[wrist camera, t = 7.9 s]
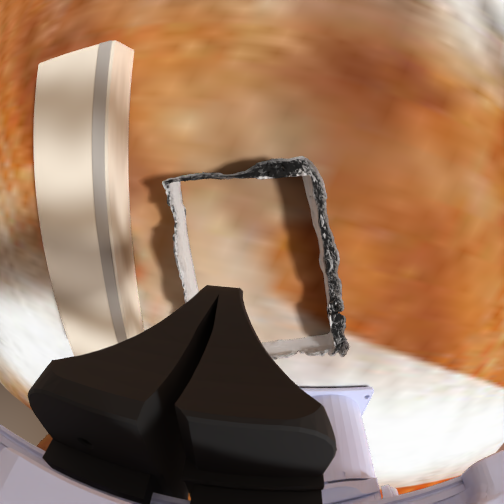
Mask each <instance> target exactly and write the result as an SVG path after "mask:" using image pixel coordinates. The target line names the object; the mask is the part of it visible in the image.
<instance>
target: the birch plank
mask: <svg viewBox="0 0 504 504" xmlns="http://www.w3.org/2000/svg"><path fill="white" fill-rule="evenodd" d="M133 57H134V50H133V49H131V48H129V47H127V46H125V45H123V44H122V43H120V42H118V41H116V40H115V41H108V42H104V43H100V44H98V45H94V46H91V47H87V48H84V49H80V50H77V51H74V52H71V53H68V54H65V55H62V56H59V57H56V58H53V59H50V60H48V61H45V62H42V63H40V64H39V67H38V74H37V83H36V94H35V107H34V172H35V187H36V197H37V207H38V215H39V222H40V229H41V235H42V241H43V247H44V252H45V257H46V262H47V266H48V271H49V275H50V279H51V284H52V288H53V291H54V295H55V299H56V302H57V306H58V309H59V313H60V316H61V319H62V322H63V325H64V329H65V332H66V335H67V337H68V340H69V343H70V346H71V349H72V351H73V354H74V356H79V355H83V354H87V353H91V352H94V351H98V350H101V349H104V348H107V347H110V346H113V345H115V344H118V343H120V342H122V341H125V340H127V339H129V338H131V337H134V336H136V335H138V334H140V333H142V332H144V327H143V321H142V315H141V309H140V302H139V295H138V288H137V281H136V273H135V264H134V255H133V245H132V234H131V220H130V204H129V178H128V130H129V105H130V89H131V77H132V66H133Z"/></svg>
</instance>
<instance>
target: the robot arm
mask: <svg viewBox="0 0 504 504" xmlns="http://www.w3.org/2000/svg"><path fill="white" fill-rule="evenodd" d="M373 393H374V390H373V388H372V387H355V388H299V387H298V386H297V385H296V384H295V383H294V382H293V381H292V380H291V379H290V378H289V377H288V376H287V375H286V374H285V373H284V372H283V371H282V370H281V368H280V367H279V366H278V365H277V364H276V363H275V362H274V360H273V359H272V358H271V356H270V355H269V354H268V352H267V351H266V349H265V348H264V346H263V345H262V343H261V342H260V340H259V338H258V336H257V335H256V333H255V331H254V329H253V327H252V325H251V322H250V320H249V317H248V315H247V312H246V309H245V306H244V302H243V291H242V290H241V289H240V288H231V287H220V286H209V285H207V286H205V287H204V288H203V289H202V290H200V291H199V292H198V293H197V294H196V295H195V296H194V297H192V298H191V299H190V300H189V301H188V302H186V303H185V304H184V305H183V306H181V307H180V308H179V309H178V310H176V311H175V312H174V313H172V314H171V315H169V316H168V317H167V318H165V319H164V320H162V321H161V322H159V323H158V324H156V325H154V326H153V327H151V328H149V329H147V330H146V331H144V332H142V333H140V334H138V335H136V336H134V337H131V338H129V339H127V340H125V341H122V342H120V343H118V344H115V345H113V346H110V347H107V348H104V349H101V350H98V351H94V352H91V353H87V354H83V355H79V356H74V357H69V358H64V359H58V360H52V361H51V363H50V364H49V365H48V366H47V368H46V369H45V370H44V371H43V373H42V374H41V375H40V377H39V378H38V379H37V381H36V382H35V383H34V385H33V386H32V387H31V389H30V390H29V393H28V399H29V403H30V406H31V408H32V410H33V412H34V413H35V415H36V416H37V418H38V419H39V421H40V422H41V423H42V425H43V426H44V428H45V429H46V430H47V432H48V433H49V434H50V436H51V437H52V438H53V439H52V441H51V442H50V444H49V446H48V448H47V450H46V451H44V450H42V449H40V448H38V447H37V446H35V445H33V444H31V443H30V442H28V441H26V440H24V439H23V438H21V437H19V436H18V435H16V434H15V433H13V432H11V431H10V430H8V429H7V428H5V427H4V426H2V425H1V424H0V504H504V451H503V450H501V451H499V452H496V453H494V454H492V455H490V456H488V457H485V458H483V459H481V460H479V461H477V462H476V463H474V464H473V465H472V466H470V467H469V468H468V469H467V470H466V471H465V472H464V473H463V474H462V475H461V476H459V477H456V478H453V479H451V480H448V481H445V482H442V483H439V484H436V485H433V486H430V487H427V488H423V489H420V490H416V491H413V492H409V493H405V494H401V495H398V491H397V489H396V488H393V487H390V485H384V486H381V488H382V493H383V498H382V499H381V495H380V490H379V485H378V481H377V478H376V476H375V471H374V466H373V462H372V457H371V453H370V448H369V444H368V440H367V435H366V431H365V427H364V423H363V419H362V415H363V413H364V411H365V409H366V407H367V405H368V403H369V401H370V399H371V397H372V395H373ZM189 495H190V497H191V501H190V500H188V496H189Z"/></svg>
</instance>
